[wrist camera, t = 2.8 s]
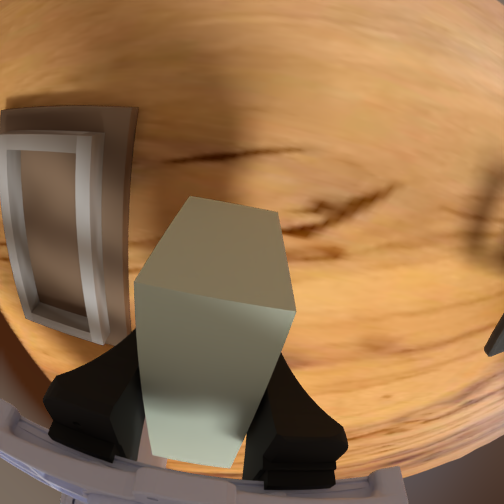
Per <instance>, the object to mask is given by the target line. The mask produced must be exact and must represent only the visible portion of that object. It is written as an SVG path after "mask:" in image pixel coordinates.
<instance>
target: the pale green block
mask: <svg viewBox="0 0 504 504" xmlns="http://www.w3.org/2000/svg"><path fill="white" fill-rule="evenodd" d="M134 299H135V321H136V337H137V350H138V361H139V371H140V380H141V388H142V396H143V403H144V410H145V416H146V422H147V428H148V434H149V440H150V445H151V450H152V455H155V456H159V457H163V458H168V459H173V460H178V461H183V462H189V463H195V464H201V465H207V466H215V467H223V468H230V467H231V465H232V463H233V461H234V459H235V457H236V455H237V453H238V451H239V448H240V446H241V444H242V442H243V440H244V438H245V435H246V433H247V431H248V429H249V427H250V424H251V422H252V420H253V418H254V415H255V413H256V411H257V409H258V406H259V404H260V402H261V399H262V397H263V395H264V392H265V390H266V387H267V385H268V383H269V380H270V378H271V375H272V373H273V371H274V368H275V366H276V363H277V361H278V358H279V356H280V353H281V351H282V348H283V345H284V343H285V340H286V338H287V335H288V332H289V330H290V327H291V325H292V322H293V319H294V317H295V314H296V307H295V301H294V295H293V290H292V284H291V279H290V273H289V268H288V262H287V257H286V252H285V247H284V242H283V236H282V231H281V226H280V221H279V216H278V212H274V211H269V210H264V209H259V208H254V207H249V206H244V205H239V204H233V203H228V202H223V201H217V200H212V199H206V198H200V197H195V196H189V198H188V199H187V200H186V202H185V203H184V205H183V206H182V208H181V209H180V211H179V212H178V214H177V215H176V217H175V218H174V220H173V221H172V223H171V224H170V226H169V227H168V229H167V230H166V232H165V233H164V235H163V236H162V238H161V239H160V241H159V242H158V244H157V245H156V247H155V249H154V250H153V252H152V253H151V255H150V257H149V258H148V260H147V261H146V263H145V265H144V266H143V268H142V269H141V271H140V273H139V274H138V276H137V278H136V279H135V281H134Z"/></svg>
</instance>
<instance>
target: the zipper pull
mask: <svg viewBox="0 0 504 504" xmlns="http://www.w3.org/2000/svg"><path fill="white" fill-rule="evenodd" d="M484 351H485V353H486V354H487V355H488V357H491V356H494V355H496V354H499V353H501V352H504V314H503V315H502V317H501V319H500V320H499V322H498V324H497V326H496V327H495V329H494V331H493V332H492V334H491V336H490V338H489V340H488V342H487V343H486V345H485V347H484Z"/></svg>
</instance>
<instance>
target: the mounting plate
mask: <svg viewBox="0 0 504 504" xmlns="http://www.w3.org/2000/svg"><path fill="white" fill-rule="evenodd" d="M137 114H138V108H137V107H121V106H87V105H72V106H40V107H25V108H13V109H6V110H1V116H0V201H1V210H2V218H3V225H4V231H5V237H6V243H7V248H8V253H9V258H10V263H11V267H12V272H13V276H14V280H15V284H16V288H17V291H18V295H19V298H20V302H21V305H22V308H23V312H24V315H25V318H26V319H28V320H31V321H33V322H36V323H39V324H41V325H44V326H46V327H49V328H52V329H55V330H57V331H60V332H63V333H66V334H69V335H72V336H75V337H78V338H81V339H84V340H87V341H90V342H94V343H97V344H100V345H104V344H105V343H106V344H110V345H113V346H116V345H117V344H118V343H119V342H121V341H122V340H123V339H124V338H125V337H127V336H128V335H129V334H130V333H131V320H130V304H129V280H128V221H129V197H130V180H131V168H132V156H133V147H134V138H135V129H136V122H137Z"/></svg>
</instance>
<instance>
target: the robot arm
mask: <svg viewBox="0 0 504 504" xmlns="http://www.w3.org/2000/svg"><path fill="white" fill-rule="evenodd" d="M43 403H44V405H45V407H46V409H47V411H48V412H49V414H50V416H51V417H52V419H53V422H52V425H51V427H50V429H47V428H45V427H42V426H40V425H38V424H36V423H34V422H32V421H30V420H29V419H27V418H25V417H23V416H21V415H20V413H19V411H18V410H17V409H16V408H15V407H14V406H13V405H12V404H10V403H8V402H6V401H5V400H3V399H2V398H0V457H1V458H2V459H4V460H6V461H7V462H9V463H10V464H12V465H14V466H15V467H17V468H18V469H20V470H22V471H23V472H25V473H27V474H28V475H30V476H32V477H34V478H35V479H37V480H39V481H41V482H43V483H44V484H46V485H48V486H50V487H52V488H54V489H56V490H58V491H60V492H62V495H61V500H60V504H409V503H408V499H407V494H406V490H405V486H404V482H403V478H402V474H401V470H400V467H399V466H395V467H389V468H383V469H379V470H376V471H374V472H372V473H371V474H370V475H369V476H365V477H357V478H349V479H338V480H335V474H334V470H335V469H336V460H338V459H339V458H340V457H341V456H342V455H343V454H344V453H345V452H346V451H347V449H348V441H347V437H346V434H345V431H344V428H343V426H341V425H340V424H339V423H337V422H336V421H335V420H334V419H332V418H331V417H330V416H329V415H328V414H326V413H325V412H324V411H323V410H322V409H321V408H320V407H319V406H318V405H317V404H316V403H315V402H314V401H313V399H312V398H311V397H310V396H309V395H308V394H307V393H306V391H305V390H304V389H303V388H302V386H301V385H300V383H299V382H298V381H297V379H296V378H295V376H294V375H293V373H292V371H291V370H290V368H289V366H288V365H287V363H286V361H285V359H284V357H283V355H282V353H280V356H279V358H278V361H277V363H276V366H275V368H274V371H273V373H272V375H271V378H270V380H269V383H268V385H267V387H266V390H265V392H264V395H263V397H262V399H261V402H260V404H259V406H258V409H257V411H256V413H255V415H254V418H253V420H252V422H251V424H250V427H249V429H248V431H247V436H246V448H245V459H244V468H243V477H242V480H239V479H229V478H220V477H212V476H205V475H198V474H192V473H186V472H181V471H175V470H171V469H166V463H167V458H163V457H159V456H155V455H152V450H151V445H150V440H149V434H148V428H147V422H146V416H145V410H144V403H143V396H142V388H141V380H140V371H139V361H138V350H137V337H136V328H135V329H134V330H133V331H132V332H131V333H130V334H129V335H128V336H127V337H125V338H124V339H123V340H122V341H121V342H119V343H118V344H117V345H116V346H114V347H113V348H112V349H110V350H109V351H107V352H106V353H104V354H103V355H101V356H99V357H98V358H96V359H94V360H93V361H91V362H89V363H87V364H85V365H83V366H81V367H79V368H76V369H74V370H72V371H69V372H66V373H63V374H61V375H57V376H56V377H55V379H54V380H53V381H52V383H51V385H50V386H49V388H48V390H47V392H46V394H45V396H44V398H43Z"/></svg>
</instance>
